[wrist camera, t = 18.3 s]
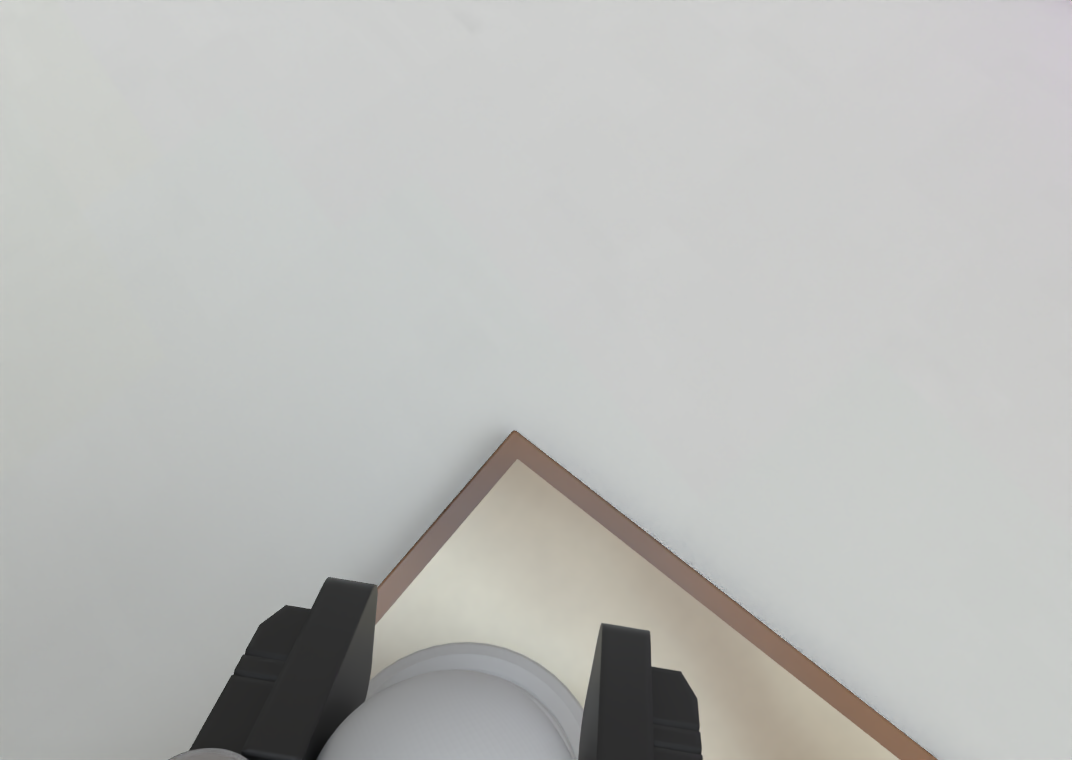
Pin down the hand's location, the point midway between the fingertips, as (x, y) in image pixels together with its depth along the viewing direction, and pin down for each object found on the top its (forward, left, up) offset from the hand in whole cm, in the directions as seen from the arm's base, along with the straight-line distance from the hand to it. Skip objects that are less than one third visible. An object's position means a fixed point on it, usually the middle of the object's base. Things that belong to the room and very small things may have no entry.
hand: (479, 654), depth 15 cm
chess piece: (-2, -1, -5) cm, 6 cm away
